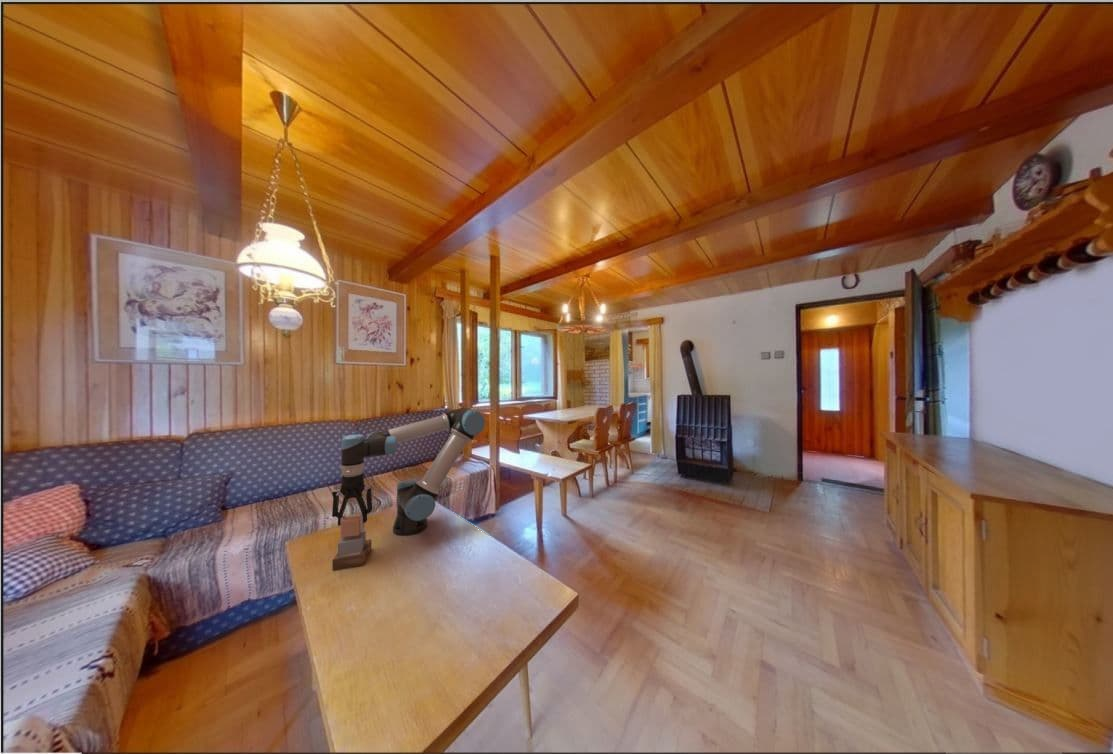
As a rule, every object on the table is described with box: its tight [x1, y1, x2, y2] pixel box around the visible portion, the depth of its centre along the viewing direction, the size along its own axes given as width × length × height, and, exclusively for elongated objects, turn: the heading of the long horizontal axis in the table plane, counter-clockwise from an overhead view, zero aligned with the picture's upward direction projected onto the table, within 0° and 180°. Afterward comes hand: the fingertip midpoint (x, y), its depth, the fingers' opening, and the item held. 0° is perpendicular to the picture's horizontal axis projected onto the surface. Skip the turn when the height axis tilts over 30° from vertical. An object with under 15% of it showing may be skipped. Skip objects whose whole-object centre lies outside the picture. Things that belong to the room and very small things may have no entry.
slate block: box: [337, 529, 367, 557], centre depth 123 cm, size 8×8×5 cm
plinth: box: [332, 539, 372, 571], centre depth 123 cm, size 12×10×4 cm
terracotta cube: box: [340, 513, 362, 538], centre depth 123 cm, size 6×6×6 cm
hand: (352, 531), depth 123 cm, fingers closed on terracotta cube, 6 cm apart
